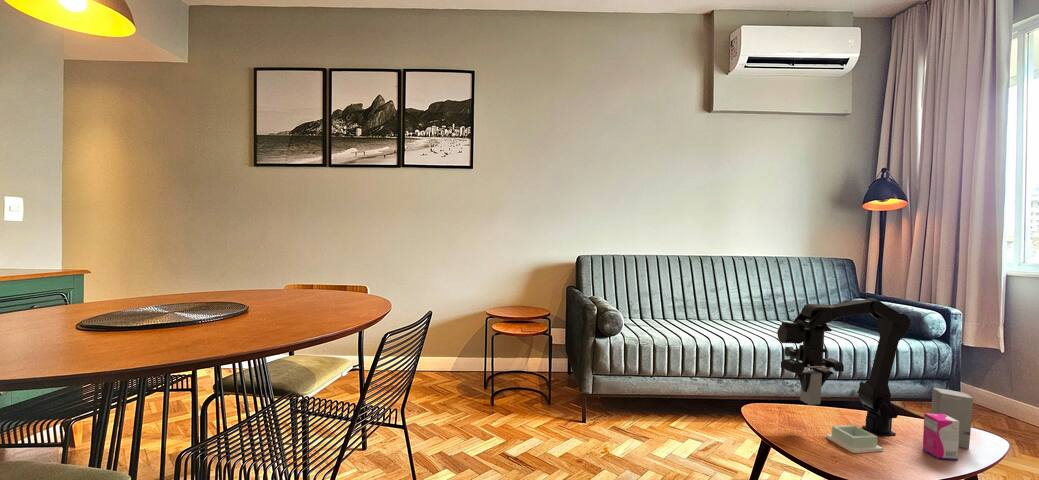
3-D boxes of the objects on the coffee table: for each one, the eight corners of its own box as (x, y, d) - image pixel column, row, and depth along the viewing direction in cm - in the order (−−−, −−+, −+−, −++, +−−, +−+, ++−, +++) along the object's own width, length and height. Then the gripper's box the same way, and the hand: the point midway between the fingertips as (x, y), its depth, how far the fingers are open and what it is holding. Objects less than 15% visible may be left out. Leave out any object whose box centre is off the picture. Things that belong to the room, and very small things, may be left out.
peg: (810, 399, 157) (812, 369, 157) (820, 404, 153) (821, 373, 153) (800, 400, 157) (801, 370, 156) (809, 404, 153) (810, 374, 152)
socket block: (854, 436, 151) (854, 423, 151) (882, 451, 141) (883, 438, 141) (826, 437, 149) (826, 425, 149) (853, 453, 140) (853, 439, 139)
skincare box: (935, 443, 147) (939, 393, 146) (927, 434, 153) (930, 386, 153) (971, 450, 143) (975, 398, 143) (962, 440, 150) (965, 390, 149)
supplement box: (942, 451, 142) (944, 413, 142) (958, 461, 136) (961, 421, 136) (921, 449, 143) (923, 412, 142) (936, 459, 137) (939, 420, 136)
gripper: (819, 337, 163) (816, 382, 164) (770, 338, 160) (767, 383, 161) (846, 345, 152) (843, 393, 153) (794, 347, 149) (791, 395, 150)
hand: (810, 391), depth 155 cm, fingers closed on peg, 4 cm apart
